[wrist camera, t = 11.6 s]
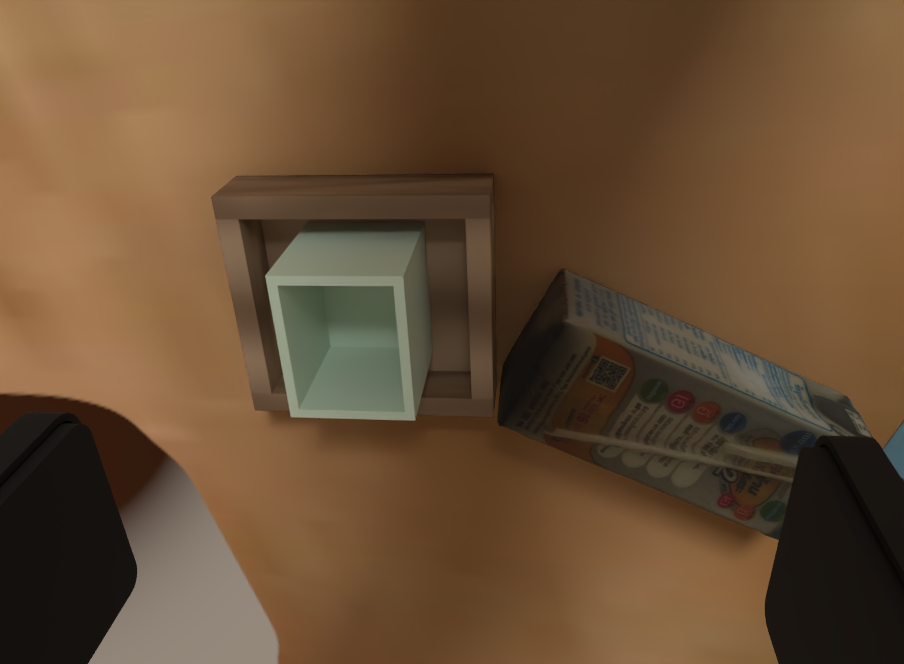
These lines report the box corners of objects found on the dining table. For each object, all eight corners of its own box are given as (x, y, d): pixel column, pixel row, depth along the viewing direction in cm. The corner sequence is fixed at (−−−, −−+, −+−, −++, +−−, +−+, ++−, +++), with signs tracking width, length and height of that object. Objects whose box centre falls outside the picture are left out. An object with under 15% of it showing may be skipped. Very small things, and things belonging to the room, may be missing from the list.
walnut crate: (236, 176, 40) (210, 196, 37) (493, 173, 38) (489, 195, 35) (273, 378, 46) (255, 410, 43) (496, 383, 45) (493, 416, 42)
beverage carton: (769, 486, 47) (800, 565, 41) (494, 367, 45) (486, 433, 39) (851, 393, 43) (899, 466, 37) (555, 258, 41) (557, 313, 35)
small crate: (307, 222, 40) (265, 275, 34) (424, 222, 40) (403, 276, 33) (325, 349, 44) (290, 417, 38) (432, 350, 43) (415, 420, 37)
